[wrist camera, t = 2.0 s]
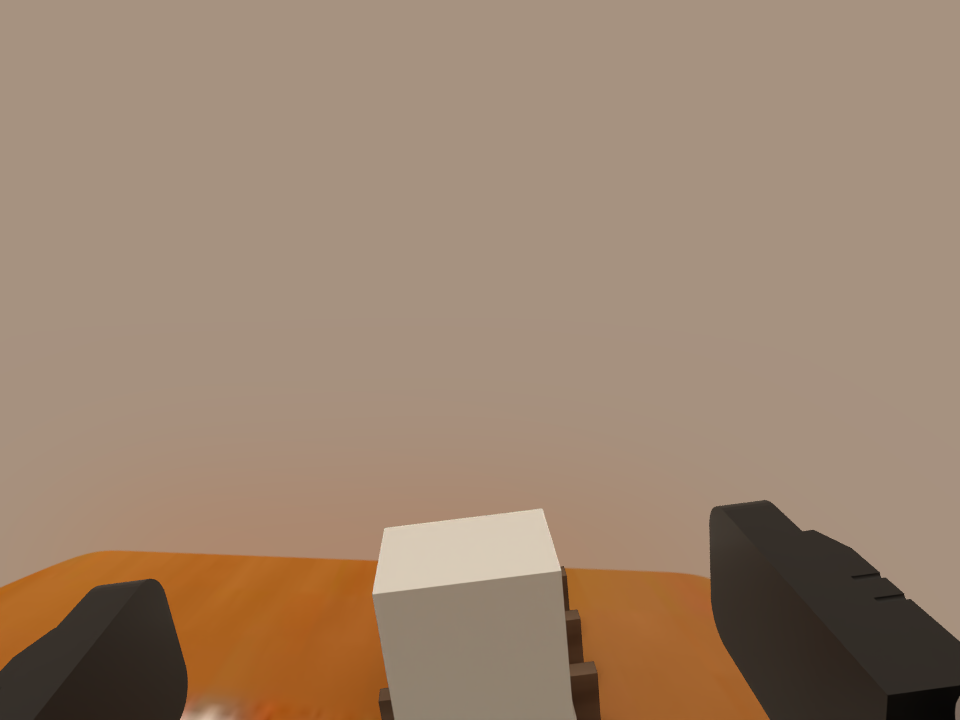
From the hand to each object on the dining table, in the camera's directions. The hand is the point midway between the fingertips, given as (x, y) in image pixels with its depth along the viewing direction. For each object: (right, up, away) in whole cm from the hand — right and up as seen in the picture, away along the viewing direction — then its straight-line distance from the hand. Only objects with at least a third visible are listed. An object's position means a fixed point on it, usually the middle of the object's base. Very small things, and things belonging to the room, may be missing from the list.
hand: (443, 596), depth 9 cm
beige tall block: (+2, -18, +17) cm, 25 cm away
